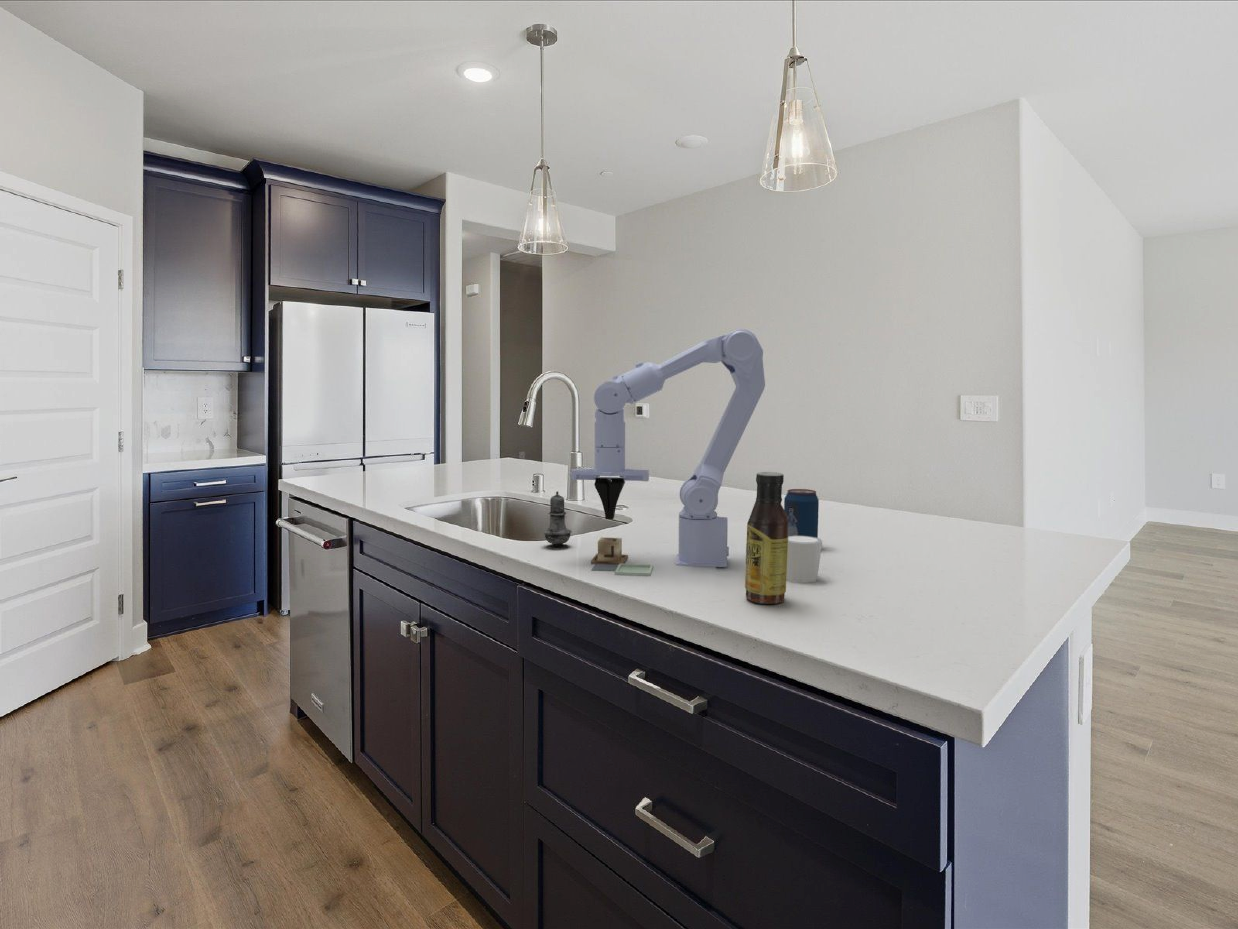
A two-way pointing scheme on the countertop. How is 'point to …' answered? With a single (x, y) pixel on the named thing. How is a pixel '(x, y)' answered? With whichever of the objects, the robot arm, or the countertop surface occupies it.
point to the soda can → (802, 512)
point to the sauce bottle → (767, 542)
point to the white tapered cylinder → (803, 558)
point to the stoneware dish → (634, 569)
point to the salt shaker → (557, 524)
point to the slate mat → (604, 567)
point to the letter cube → (610, 549)
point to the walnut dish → (595, 561)
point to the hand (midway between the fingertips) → (609, 518)
